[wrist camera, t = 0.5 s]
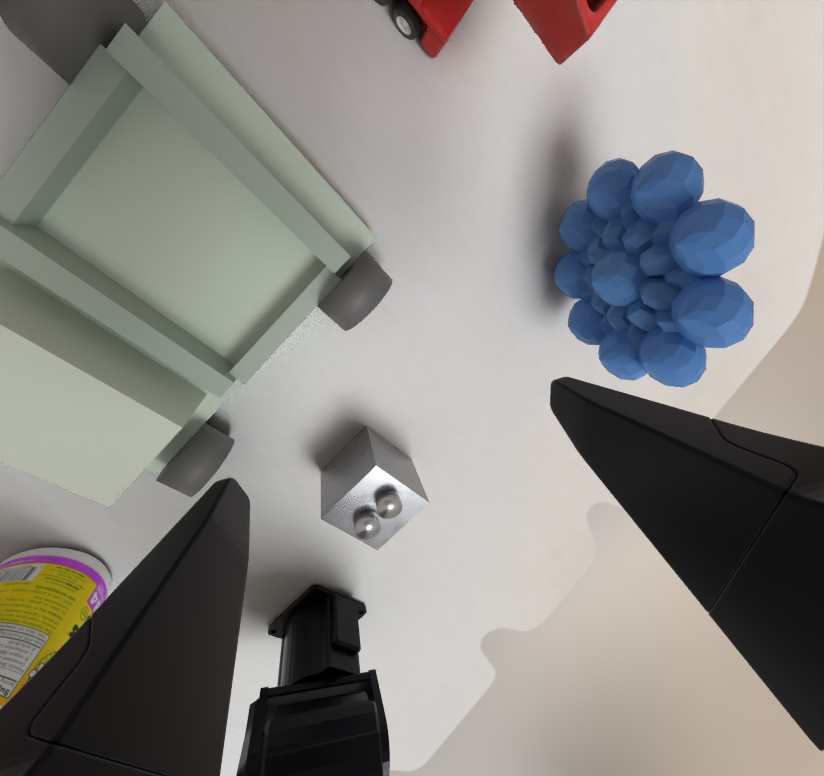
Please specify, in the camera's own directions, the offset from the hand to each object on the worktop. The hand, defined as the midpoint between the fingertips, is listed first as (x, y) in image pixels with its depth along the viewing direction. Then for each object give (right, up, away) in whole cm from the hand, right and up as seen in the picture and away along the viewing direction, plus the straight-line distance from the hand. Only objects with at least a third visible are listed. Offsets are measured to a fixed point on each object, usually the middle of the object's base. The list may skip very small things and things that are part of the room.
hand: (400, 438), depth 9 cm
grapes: (+12, +10, +15) cm, 21 cm away
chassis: (-13, +7, +9) cm, 17 cm away
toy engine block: (-3, -5, +17) cm, 18 cm away
